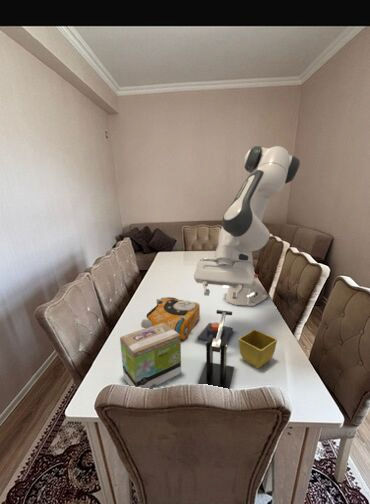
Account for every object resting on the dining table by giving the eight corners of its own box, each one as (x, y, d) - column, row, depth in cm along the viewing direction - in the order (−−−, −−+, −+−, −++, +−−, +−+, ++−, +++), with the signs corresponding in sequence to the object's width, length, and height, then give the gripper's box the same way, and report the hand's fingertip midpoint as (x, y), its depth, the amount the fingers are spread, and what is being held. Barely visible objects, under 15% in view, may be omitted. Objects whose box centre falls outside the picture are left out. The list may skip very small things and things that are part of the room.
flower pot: (259, 376, 76) (261, 350, 73) (236, 362, 82) (237, 338, 80) (275, 363, 81) (277, 339, 78) (253, 351, 88) (254, 328, 85)
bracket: (206, 364, 82) (206, 327, 77) (234, 369, 79) (235, 331, 75) (196, 391, 71) (195, 349, 67) (228, 398, 68) (229, 355, 64)
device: (129, 317, 97) (163, 290, 124) (131, 335, 100) (164, 305, 126) (183, 326, 89) (207, 295, 116) (184, 346, 92) (207, 311, 118)
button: (213, 325, 98) (213, 321, 98) (221, 327, 97) (221, 323, 96) (209, 330, 95) (209, 326, 95) (218, 332, 94) (218, 328, 93)
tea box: (137, 399, 68) (133, 352, 64) (123, 378, 76) (118, 336, 72) (182, 375, 77) (181, 333, 72) (165, 359, 85) (163, 320, 80)
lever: (217, 313, 83) (216, 307, 81) (232, 314, 81) (232, 309, 80) (207, 350, 72) (206, 345, 70) (224, 353, 70) (224, 348, 69)
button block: (209, 327, 104) (209, 318, 103) (232, 332, 100) (233, 323, 99) (197, 342, 94) (197, 332, 93) (223, 348, 90) (223, 339, 88)
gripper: (196, 253, 87) (187, 289, 82) (256, 257, 80) (251, 296, 75) (200, 262, 93) (192, 296, 87) (257, 266, 86) (252, 304, 80)
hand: (220, 296), depth 81 cm, fingers open, 8 cm apart
